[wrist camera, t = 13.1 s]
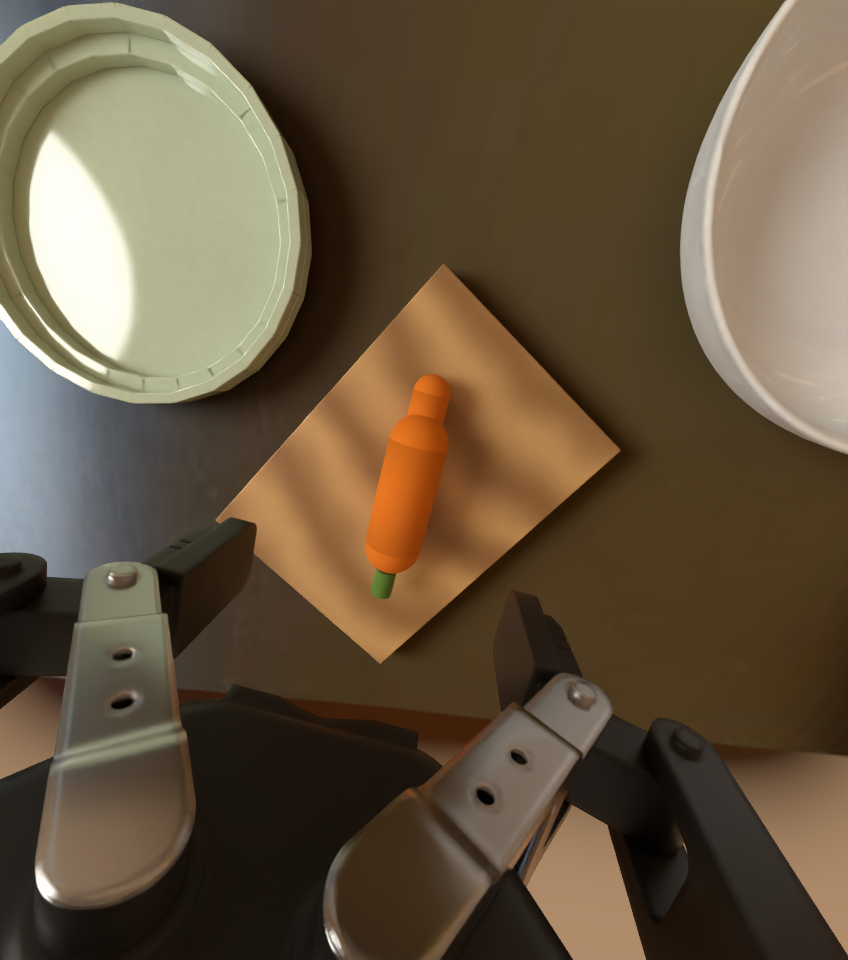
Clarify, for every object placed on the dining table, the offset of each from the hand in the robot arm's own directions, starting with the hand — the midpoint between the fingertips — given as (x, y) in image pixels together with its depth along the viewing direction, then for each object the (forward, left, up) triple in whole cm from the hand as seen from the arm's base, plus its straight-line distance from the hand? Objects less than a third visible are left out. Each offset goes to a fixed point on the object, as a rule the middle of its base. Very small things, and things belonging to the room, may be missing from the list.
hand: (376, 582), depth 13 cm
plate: (0, -20, -14) cm, 24 cm away
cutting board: (0, 0, -14) cm, 14 cm away
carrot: (0, 0, -12) cm, 12 cm away
